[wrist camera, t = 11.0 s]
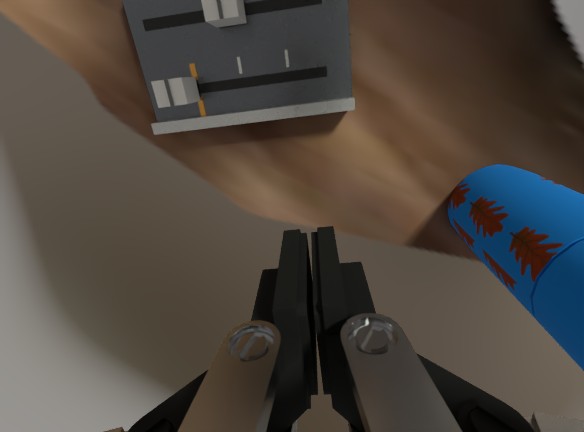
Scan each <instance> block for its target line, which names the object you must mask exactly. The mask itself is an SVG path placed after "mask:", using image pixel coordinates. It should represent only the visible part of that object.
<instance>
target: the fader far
mask: <svg viewBox="0 0 584 432" xmlns="http://www.w3.org/2000/svg"><path fill="white" fill-rule="evenodd" d="M151 83H152V87H153V90H154V94H155V98H156V101H157V105H158V108H162V107H170V106H177V105H185V104H190V103H194V102H198V101H200V96H199V92H198V88H197V83H196V79H195V77H180V78H173V79H165V80H159V81H152V82H151Z"/></svg>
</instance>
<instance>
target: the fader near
mask: <svg viewBox="0 0 584 432" xmlns="http://www.w3.org/2000/svg"><path fill="white" fill-rule="evenodd" d="M201 2H202V7H203V12H204V17H205V21H206V22H207V23H209V24H211V25H213V26H215V27H217V28H218V27H225V26H231V25H238V24H244V23H247V21H246V15H245V8H244V2H243V0H201Z"/></svg>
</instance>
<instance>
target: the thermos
mask: <svg viewBox="0 0 584 432" xmlns="http://www.w3.org/2000/svg"><path fill="white" fill-rule="evenodd" d="M448 216H449V220H450V224H451V225H452V226H453V228H454V229H455V230H456V231H457V233H458V234H459V235H460V237H461V238H462V239H463V240H464V242H465V243H466V244H467V245H468V247H469V248H470V249H471V250H472V251H473V252H474V253H475V254H476V255H477V257H478V258H479V259H480V260H481V261H482V262H483V263H484V264H485V265H486V266H487V267H488V268H489V269H490V271H491V272H492V273H493V274H494V275H495V276H496V277H497V278H498V279H499V280H500V281H501V282H502V283H503V285H505V287H506V288H507V289H508V290H509V291H510V292H511V293H512V294H513V295H514V296H515V297H516V299H517V300H518V301H519V302H520V303H521V304H522V305H523V306H524V307H525V308H526V309H527V310H528V311H529V312H530V313H531V315H532V316H533V317H534V318H535V319H536V320H537V321H538V322H539V323H540V324H541V325H542V326H543V327H544V328H545V330H546V331H547V332H548V333H549V334H550V335H551V336H552V337H553V338H554V339H555V340H556V341H557V343H558V344H559V345H560V346H561V347H562V348H563V349H564V350H565V351H566V352H567V353H568V354H569V355H570V357H571V358H572V359H573V360H574V361H575V362H576V363H577V364H578V365H579V366H580V367H581V368H582V369H583V371H584V195H583V194H580V193H578V192H576V191H574V190H571V189H569V188H567V187H564V186H562V185H560V184H558V183H555V182H553V181H551V180H548V179H546V178H544V177H542V176H539V175H537V174H534V173H532V172H529V171H526V170H523V169H520V168H517V167H514V166H507V165H500V164H498V165H493V166H488V167H483V168H481V169H479V170H477V171H475V172H473V173H471V174H469V175H468V176H467V177H466V178H465V179H464V180H463V181H462V182H461V183H460V184H458V185H457V187H456V189H455V190H454V192H453V194H452V196H451V197H450V200H449V206H448Z"/></svg>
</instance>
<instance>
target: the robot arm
mask: <svg viewBox="0 0 584 432" xmlns="http://www.w3.org/2000/svg"><path fill="white" fill-rule="evenodd" d="M317 231H318V232H312V233H311V237H312V274H311V266H310V257H309V249H308V240H307V233H301V232H300V230H299V229H297V230H287V231H284V233H283V241H282V247H281V254H280V260H279V267H278V268H277V269H265V270H263V272H262V275H261V279H260V284H259V289H258V293H257V297H256V301H255V306H254V310H253V315H252V319H251V321H249V322H246V323H243V324H241V325H239V326H237V327H235V328H234V329H233V330H232V331H230V332H229V333H228V334H227V335H226V337H225V338H224V340H223V342H222V344H221V346H220V348H219V350H218V352H217V354H216V356H215V358H214V360H213V362H212V364H211V366H210V368H209V369H208V370H207V371H205V372H204V373H203V374H201V375H200V376H199V377H197V378H196V379H194V380H193V381H192V382H190V383H189V384H188V385H186V386H185V387H184V388H182V389H181V390H179V391H178V392H177V393H175V394H174V395H172V396H171V397H170V398H168V399H167V400H165V401H164V402H163V403H161V404H160V405H159V406H157V407H156V408H154V409H153V410H152V411H150V412H149V413H147V414H146V415H145V416H143V417H142V418H141V419H140V420H139V421H137V422H136V423H135V424H134V425H133V426H132V427H131V428H130V429H129V431H124V430H123V428H122V427H120V428H116V429H112V430H109V431H105V432H297V421H296V420H297V419H298V418H299V417H300V416H301V415H302V414H303V413H304V412H305V411H306V410H307V409H310V408H311V395H318V381H317V354H316V353H317V352H316V334H317V342H318V350H319V358H320V366H321V374H322V383H323V391H324V394H331V397H332V406H333V409H335V410H336V411H337V412H338V413H339V414H340V415H342V416H343V417H344V418H345V419H346V420H347V421H348V429H349V432H584V420H578V419H572V418H566V417H560V416H554V415H548V414H542V413H536V412H533V415H532V418H531V417H526V416H522V415H521V414H520V413H519V412H517V411H516V410H514V409H513V408H512V407H510V406H509V405H507V404H506V403H504V402H502V401H500V400H499V399H497V398H495V397H493V396H492V395H490V394H488V393H486V392H485V391H483V390H481V389H479V388H477V387H475V386H474V385H472V384H470V383H469V382H467V381H465V380H463V379H461V378H460V377H457V376H456V375H454V374H452V373H451V372H449V371H447V370H445V369H444V368H442V367H440V366H438V365H436V364H435V363H433V362H431V361H429V360H428V359H426V358H424V357H422V356H420V355H419V354H417V353H416V352H415V350H414V349H413V347H412V345H411V343H410V342H409V340H408V338H407V337H406V335H405V333H404V331H403V330H402V329H401V327H400V326H399V325H398V324H397V323H396V322H395V321H393V320H392V319H391V318H389V317H386V316H384V315H381V314H376V312H375V308H374V305H373V301H372V298H371V294H370V291H369V288H368V284H367V280H366V277H365V273H364V270H363V266H362V263H361V262H351V263H339V258H338V252H337V246H336V240H335V234H334V228H333V226H330V227H319V228H317ZM312 277H313V282H312Z"/></svg>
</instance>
